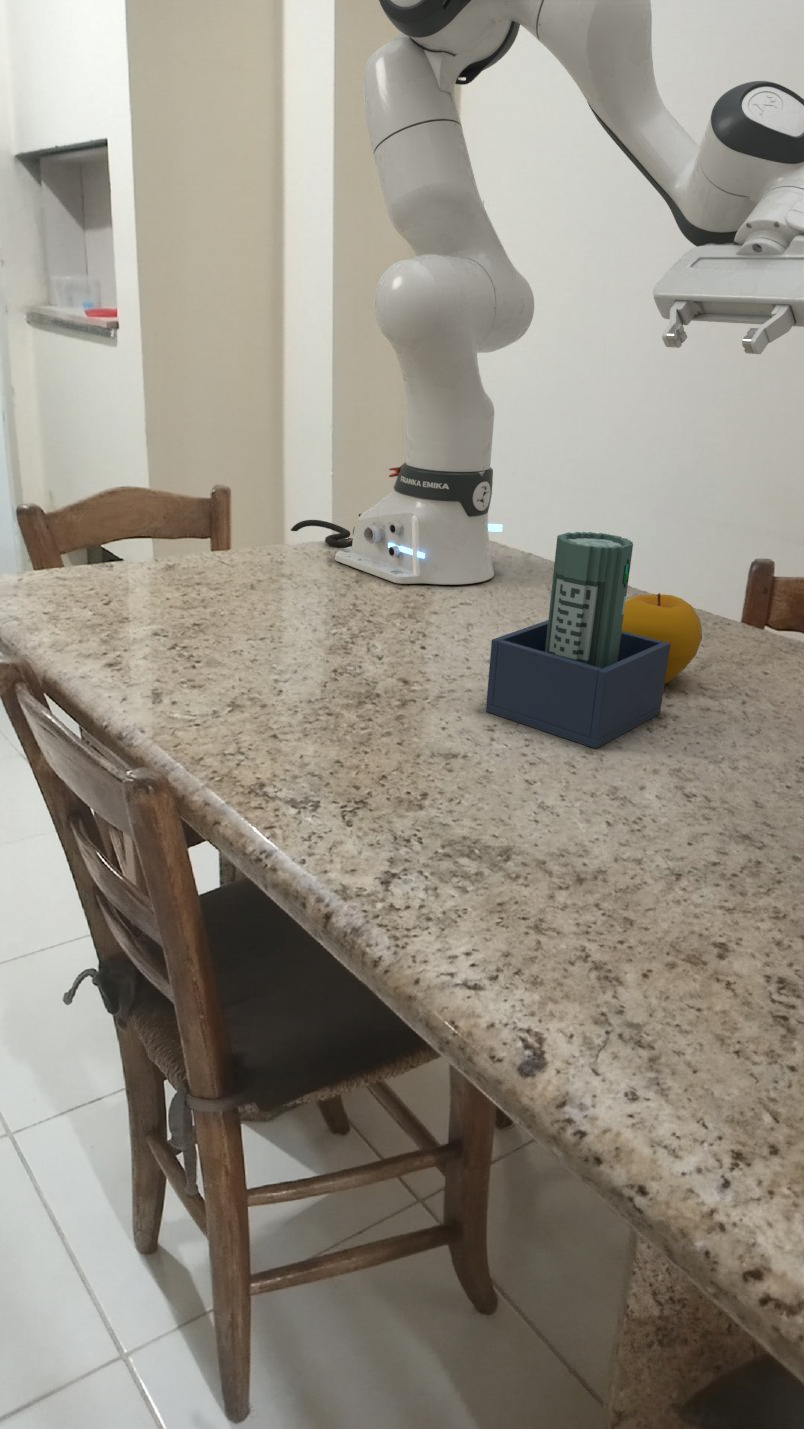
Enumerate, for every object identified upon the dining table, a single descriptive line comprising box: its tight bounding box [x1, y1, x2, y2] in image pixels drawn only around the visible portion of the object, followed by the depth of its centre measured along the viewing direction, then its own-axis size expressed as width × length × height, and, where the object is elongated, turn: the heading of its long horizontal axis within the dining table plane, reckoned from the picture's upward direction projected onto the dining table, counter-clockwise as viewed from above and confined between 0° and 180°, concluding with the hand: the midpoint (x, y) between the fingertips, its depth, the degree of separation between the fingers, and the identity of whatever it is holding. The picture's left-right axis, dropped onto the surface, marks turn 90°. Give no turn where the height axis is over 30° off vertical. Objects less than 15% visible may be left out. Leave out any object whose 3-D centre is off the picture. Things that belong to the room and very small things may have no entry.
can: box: [545, 531, 634, 669], centre depth 89 cm, size 6×6×15 cm
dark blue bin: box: [485, 619, 671, 750], centre depth 91 cm, size 11×11×7 cm
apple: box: [622, 592, 703, 684], centre depth 100 cm, size 9×9×9 cm
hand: (708, 346), depth 101 cm, fingers open, 8 cm apart
